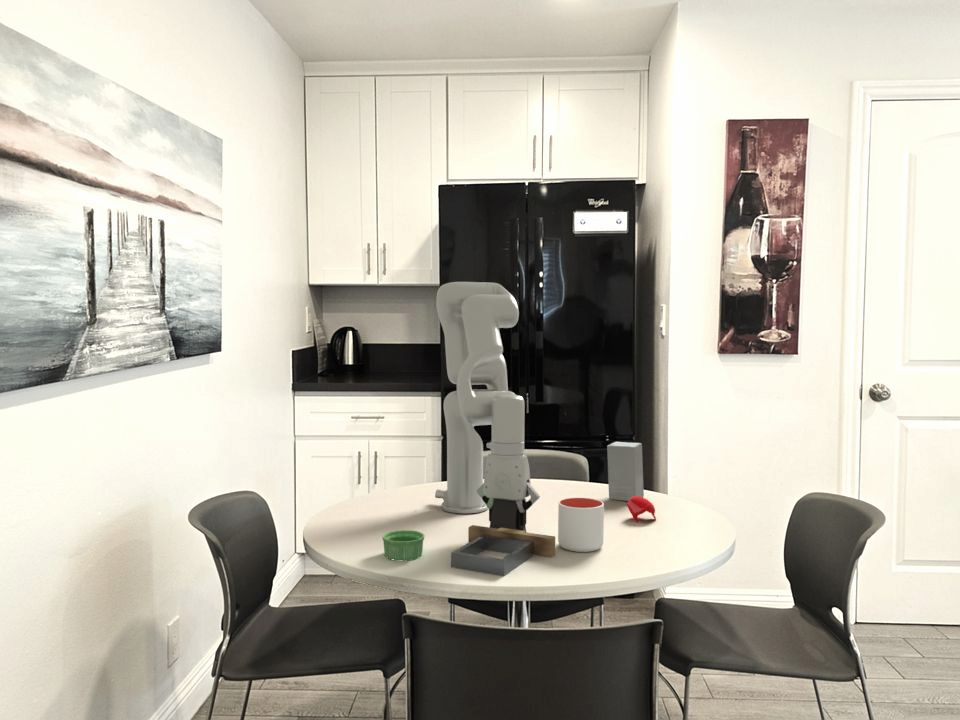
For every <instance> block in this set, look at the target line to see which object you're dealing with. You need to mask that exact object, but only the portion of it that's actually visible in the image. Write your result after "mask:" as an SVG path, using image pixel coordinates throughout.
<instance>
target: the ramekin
mask: <svg viewBox="0 0 960 720" xmlns="http://www.w3.org/2000/svg"><path fill="white" fill-rule="evenodd" d="M424 540H425V534H424V533H422V532H421V531H418V530H411V529H410V530H409V529H399V530H392V531H391V530H390V531H389V532H386V533H384V534H383V535H382V541H383V551H384V552H383V553H384V556H385V558H387V557H388V558H390V559H389V560H391V559H394V560H393V561H397V560H407V561H411V560H410V559H413V560H416V559H415V558H417V559H419V558H420V557H422V555H423V549H424V548H423V547H424ZM418 557H419V558H418ZM388 558H387V559H388Z"/></svg>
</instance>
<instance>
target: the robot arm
mask: <svg viewBox="0 0 960 720" xmlns="http://www.w3.org/2000/svg"><path fill="white" fill-rule="evenodd" d="M435 303H436V311H437V315H438V319H439V321H440V324H441V327H442V331H443V334H444V347H445V349H444V350H445V361H446V372H447V377H448V380H449V382H450V383H452V384H454V385H456V390H454V391H451V392H449V393H448V394H447V395H446V396H445V397H444V400H443V414H444V419H445V426H446V427H445V429H446V457H447V458H446V478H447V479H446V481H447V482H446V487H447V488H446V489H445V490H444V489H436V490H435V493H434V494H435V495H434V497H435V498H436V499H442V500H443V502H441V506H440V507H441V509H442V510H443V511H445V512H447V513H453V514H476V513H477V514H478V513H483V512H486V511H487V510H488V521H489V522H490V521H491V514H492V507H493V498H494V499H502V500H511V501H516V503H517V506H518V509H519V512H517V529H518V530H521V529H522V528H524V527H525V526H526V525H527V511H528V510H529V509H530V508H531V507H533V505H534V504H535V503H536V502H537V501H539V500H540V498H541V497H540V495H539V494H538V492H537V491H536V490H535V489H534V487H533V486H532V485H531V472H530V464H529V459H528V456H527V454H525V413H526V412H525V408H526V407H525V405H526V403H525V400H524V398H523V396H521V395H520V394H519V395H518V394H515V392H513V391H511V390H509V387H508V385H509V384H508V369H507V362H506V359H505V357H504V355H503V353H504V346H503V342H502V338H501V333H500V329H502V328H503V329H509V328H514V327H515V326H516V325H517V323H518V321H519V316H520V311H519V306H518V303H517V300H516V299H515V297H514V296H513V294H511V292H509V291H508V290H507V289H506V288H505V287H504V286H503V285H502V284H500V283H497V282H488V281H487V282H484V281H482V282H480V281H478V282H477V281H453V282H451V281H450V282H447V283H444V284H442V285H441V286H439V288H438V290H437V293H436V301H435ZM473 385H477V386H478V385H485V386H486V389H478V388H477V389H476V388H474V389H473V388H472V386H473ZM490 425H491V440H490V442H487V443H486V448H487V449H490V453H488V454H487V456H486V457H487V458H486V464H485V469H484V443H483V440H482V438H481V436H480V434H479V433H478V432H477V431H476V430H475V428H474V427H476V426H490ZM528 497H530V498H529V499H528V500H527V498H528Z"/></svg>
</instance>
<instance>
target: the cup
mask: <svg viewBox="0 0 960 720" xmlns="http://www.w3.org/2000/svg"><path fill="white" fill-rule="evenodd" d="M557 514H558V519H557V523H558V524H557V525H558V527H557V528H558V530H557V533H558V534H557V537H558V538H557V539H558V540H557V541H558V544H559V546H560V547H561V548H562V549H564V550H567V551H570V552H576V553H589V552H596V551H597V550H600V549H601V548H602V547H603V545H604V533H605V532H604V530H605V528H604V527H605V524H604V523H605V522H604V520H605V517H604V516H605V504H604V502H602V501H601V500H598V499H594V498H590V497H589V498H588V497H569V498H568V497H567V498H564V499H560V500H559V501H558V513H557Z"/></svg>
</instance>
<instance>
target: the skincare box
mask: <svg viewBox="0 0 960 720" xmlns="http://www.w3.org/2000/svg"><path fill="white" fill-rule="evenodd" d="M606 451H607V454H606V455H607V473H608V474H607V480H608V482H607V483H608V500H612V499H614V500H615V501H622V502H625V501H626V502H628V501H629V499H630V498H632V497H635V496H639V497H643V498H644V494H645V492H644V469H643V464H644V463H643V444H642V443H641V442H627V441H623V442H622V441H614V442H612V443H610V444H608V445H607V446H606Z"/></svg>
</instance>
